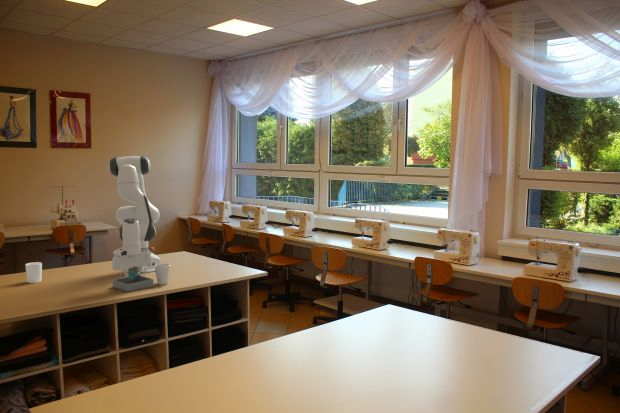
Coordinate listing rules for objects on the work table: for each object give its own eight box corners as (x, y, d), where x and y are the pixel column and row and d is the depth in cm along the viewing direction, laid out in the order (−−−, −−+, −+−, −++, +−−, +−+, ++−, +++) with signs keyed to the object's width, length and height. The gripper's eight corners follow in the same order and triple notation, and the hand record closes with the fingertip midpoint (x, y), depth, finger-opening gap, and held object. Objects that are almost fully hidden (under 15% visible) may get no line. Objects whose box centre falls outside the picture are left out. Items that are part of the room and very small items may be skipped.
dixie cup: (173, 283, 269) (173, 265, 268) (158, 285, 264) (158, 267, 263) (166, 280, 275) (166, 262, 274) (152, 283, 270) (151, 264, 269)
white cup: (46, 280, 275) (45, 262, 274) (33, 283, 267) (33, 265, 266) (35, 279, 277) (34, 261, 276) (22, 282, 270) (21, 264, 269)
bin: (139, 282, 272) (138, 274, 271) (153, 286, 262) (153, 279, 261) (112, 287, 261) (112, 279, 260) (126, 292, 251) (126, 284, 250)
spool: (133, 282, 264) (135, 265, 264) (137, 284, 261) (139, 266, 261) (125, 282, 260) (127, 265, 260) (129, 284, 257) (131, 266, 257)
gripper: (147, 246, 269) (147, 272, 270) (110, 251, 254) (111, 278, 255) (153, 248, 265) (153, 273, 266) (115, 253, 250) (116, 280, 251)
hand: (132, 276), depth 261 cm, fingers closed on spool, 5 cm apart
